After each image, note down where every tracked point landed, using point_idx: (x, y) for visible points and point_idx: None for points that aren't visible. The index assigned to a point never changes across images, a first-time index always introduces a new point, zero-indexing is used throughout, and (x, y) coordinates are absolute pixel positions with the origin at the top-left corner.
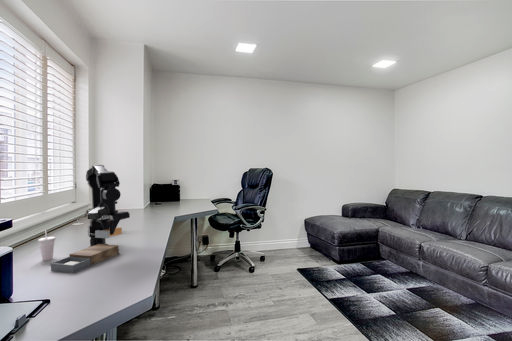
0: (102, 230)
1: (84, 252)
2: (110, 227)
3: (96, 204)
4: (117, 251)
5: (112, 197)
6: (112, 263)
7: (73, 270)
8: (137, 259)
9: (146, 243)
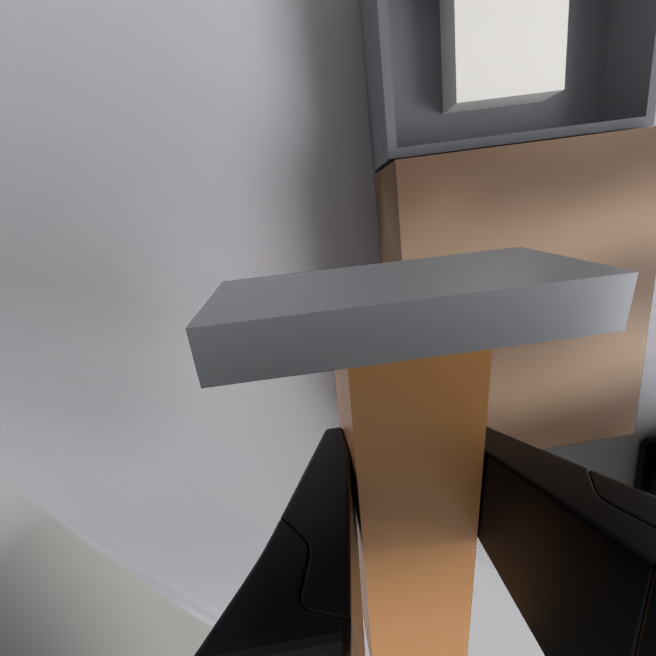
0: (460, 362)
1: (560, 216)
2: (315, 524)
3: None
4: None
5: None
6: (241, 267)
7: None
8: (131, 394)
9: None
